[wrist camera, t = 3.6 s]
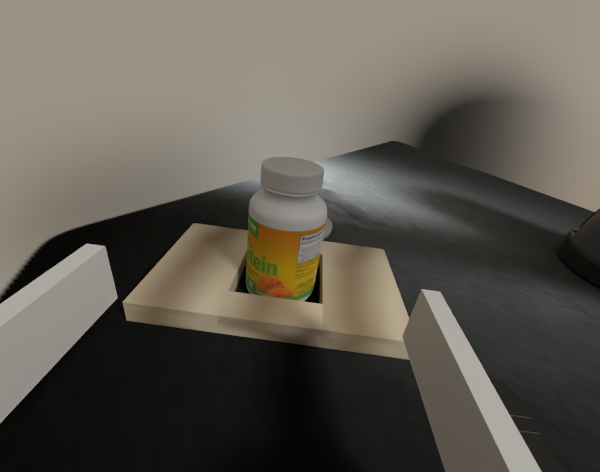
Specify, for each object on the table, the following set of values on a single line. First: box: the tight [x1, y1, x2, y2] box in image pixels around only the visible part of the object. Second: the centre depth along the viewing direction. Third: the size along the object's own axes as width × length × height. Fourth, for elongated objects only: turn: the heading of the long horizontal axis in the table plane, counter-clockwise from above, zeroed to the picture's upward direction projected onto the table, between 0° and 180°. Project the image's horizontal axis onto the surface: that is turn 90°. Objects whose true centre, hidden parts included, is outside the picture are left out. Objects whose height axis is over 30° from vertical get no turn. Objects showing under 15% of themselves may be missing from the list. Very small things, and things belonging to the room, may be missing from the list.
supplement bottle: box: [246, 157, 327, 301], centre depth 21 cm, size 5×5×10 cm
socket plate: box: [123, 223, 410, 360], centre depth 23 cm, size 18×11×2 cm, turn 86°
